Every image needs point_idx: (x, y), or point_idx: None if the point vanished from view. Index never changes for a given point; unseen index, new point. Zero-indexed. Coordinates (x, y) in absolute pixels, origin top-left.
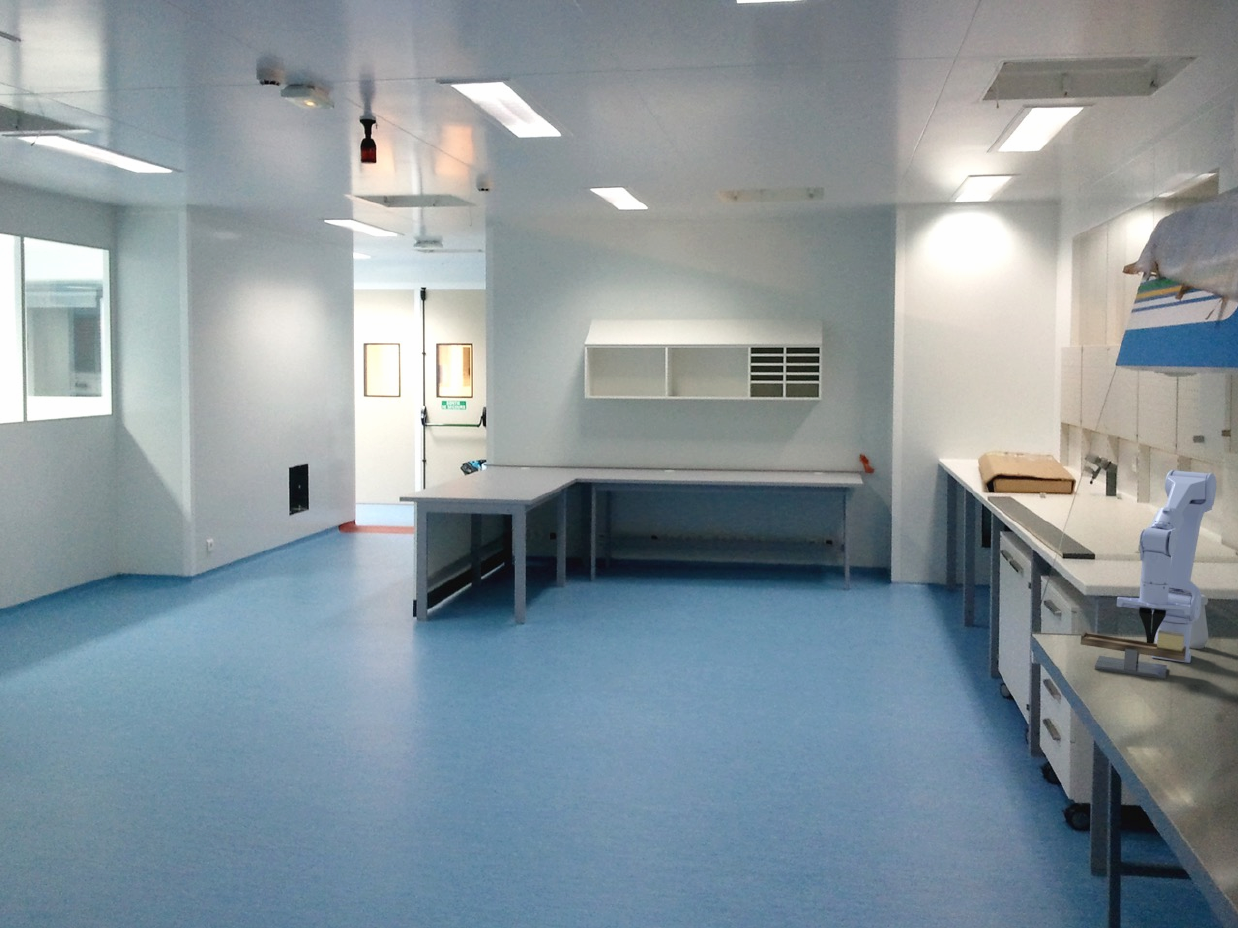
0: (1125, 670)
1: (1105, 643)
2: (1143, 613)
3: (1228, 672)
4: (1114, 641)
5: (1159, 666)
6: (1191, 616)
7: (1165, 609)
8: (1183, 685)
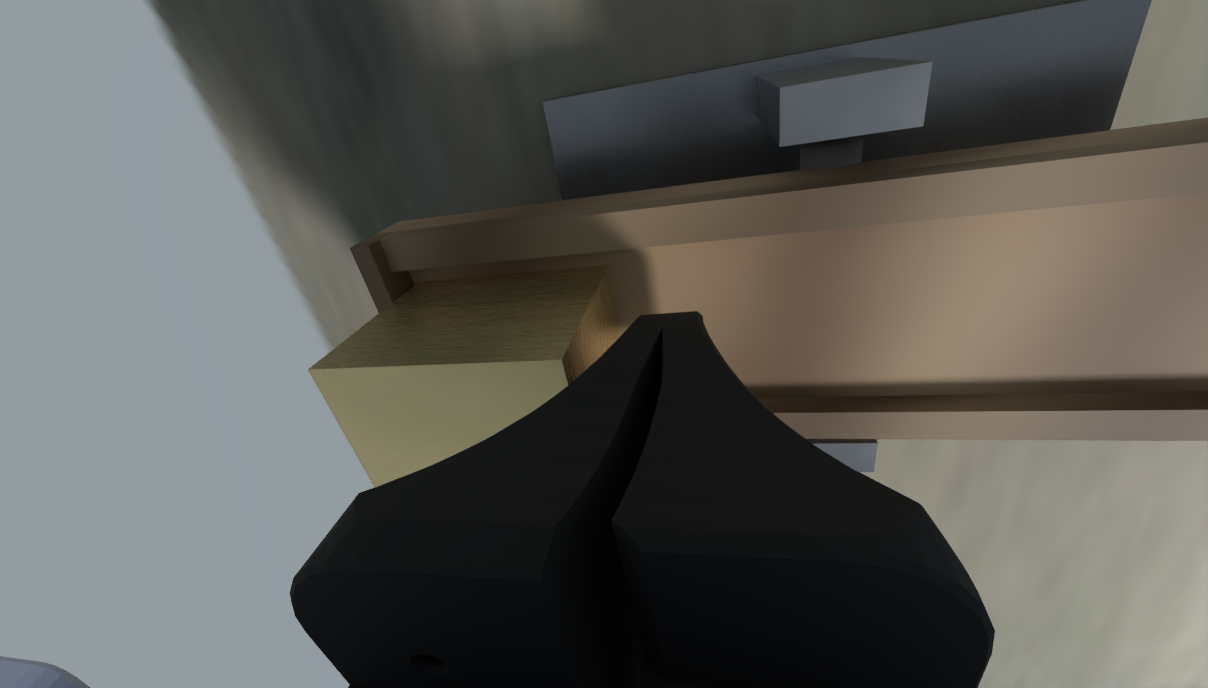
0: (840, 48)
1: None
2: (843, 551)
3: None
4: (1028, 347)
5: None
6: None
7: None
8: (406, 13)
